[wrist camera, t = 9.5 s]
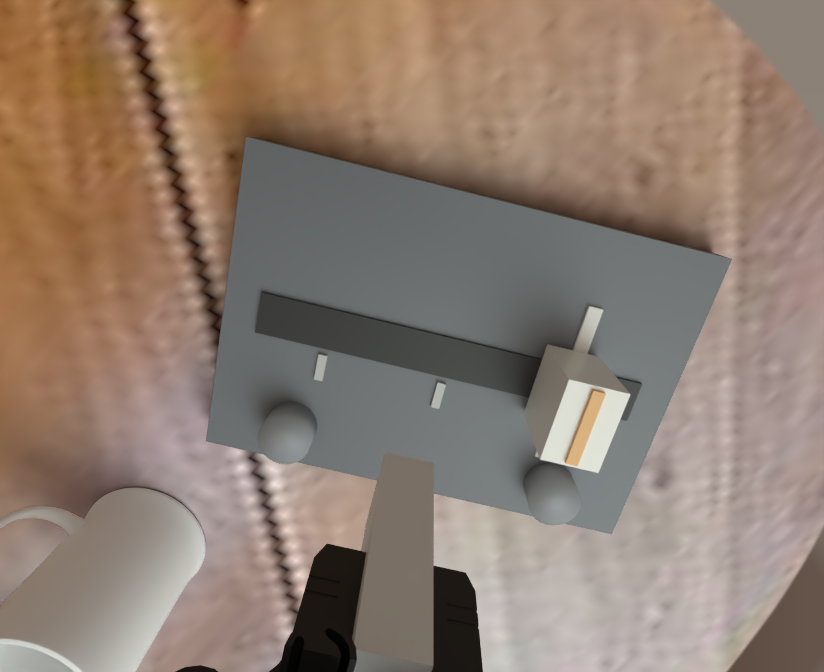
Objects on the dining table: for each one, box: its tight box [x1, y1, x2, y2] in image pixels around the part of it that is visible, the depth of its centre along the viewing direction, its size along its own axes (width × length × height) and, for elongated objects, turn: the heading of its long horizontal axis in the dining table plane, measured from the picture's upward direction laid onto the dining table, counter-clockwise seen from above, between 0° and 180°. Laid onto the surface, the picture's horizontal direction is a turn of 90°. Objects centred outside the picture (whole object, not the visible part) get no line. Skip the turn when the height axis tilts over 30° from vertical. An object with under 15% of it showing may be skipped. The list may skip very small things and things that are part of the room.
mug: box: [0, 488, 206, 672], centre depth 32 cm, size 12×8×12 cm
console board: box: [206, 137, 732, 534], centre depth 30 cm, size 18×26×4 cm
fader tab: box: [524, 344, 631, 473], centre depth 28 cm, size 4×3×5 cm
